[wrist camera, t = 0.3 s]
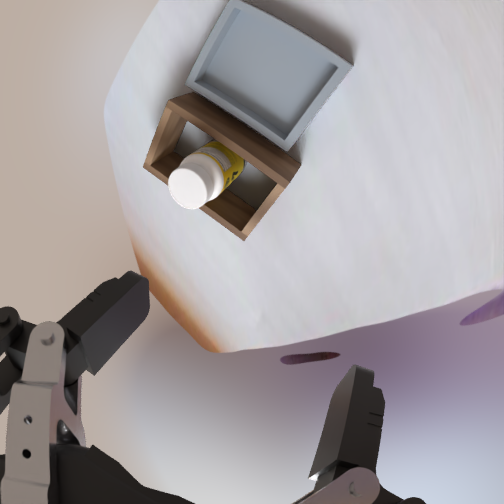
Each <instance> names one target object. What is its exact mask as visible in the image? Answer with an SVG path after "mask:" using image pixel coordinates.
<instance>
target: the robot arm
mask: <svg viewBox="0 0 504 504" xmlns="http://www.w3.org/2000/svg"><path fill="white" fill-rule="evenodd" d="M149 309H150V300H149V281H148V279H147V278H145V277H143V276H141V275H139V274H137V273H135V272H133V271H128V272H127V273H125V274H124V275H123V276H122V277H121V278H119V279H117V278H113V279H111V280H108V281H105V282H103V283H102V284H101V285H99V286H98V287H97V288H96V289H95V290H94V292H92V293H90V294H89V295H88V296H87V297H86V299H85V298H84V299H83V300H82V301H81V302H80V303H79V304H78V305H76V306H75V307H74V308H73V309H72V310H71V311H70V312H68V313H67V314H66V315H65V316H64V317H63V318H62V319H61V320H60V321H58V322H56V323H55V322H50V321H49V322H43V323H40V324H39V325H35V324H32V323H29V322H26V321H23V320H21V319H20V316H19V314H18V312H17V310H16V309H14V308H12V307H3V308H0V356H1V355H2V354H3V353H4V352H5V354H6V356H5V358H4V359H3V360H2V361H1V362H0V414H1V413H2V412H3V410H4V409H5V408H6V406H7V405H8V404H9V403H10V404H9V412H8V423H7V435H6V454H3V455H0V504H195V503H192V502H190V501H188V500H186V499H184V498H182V497H180V496H176V495H173V494H168V493H165V492H161V491H157V490H154V489H150V488H147V487H144V486H143V485H141V484H140V483H139V482H138V481H137V480H136V479H135V478H133V476H132V475H131V474H130V473H129V472H128V471H126V469H124V467H122V465H121V464H120V463H119V462H117V461H116V460H114V459H113V458H111V457H110V456H108V455H107V454H105V453H104V452H102V451H101V450H100V449H98V448H97V447H95V446H94V445H92V446H91V448H87V447H86V441H85V433H84V428H83V425H82V421H81V387H82V376H81V374H82V373H83V372H84V371H85V370H87V371H89V372H90V373H91V374H93V375H95V374H96V373H97V372H98V371H99V370H100V369H101V368H102V367H103V365H104V364H105V363H106V362H107V361H108V360H109V359H110V358H111V356H112V355H113V354H114V353H115V352H116V351H117V350H118V349H119V348H120V346H121V345H122V344H123V343H124V342H125V341H126V340H127V339H128V338H129V337H130V335H131V334H132V333H133V332H134V331H135V330H136V329H137V328H138V327H139V326H140V324H141V323H142V322H143V321H144V320H145V318H146V317H147V315H148V313H149ZM373 382H374V371H373V370H370V369H366V368H364V367H361V366H358V365H353V366H352V367H351V369H350V370H349V371H348V373H347V374H346V375H345V377H344V378H343V379H342V381H341V382H340V383H339V385H338V386H337V387H336V389H335V391H334V393H333V396H332V398H331V401H330V405H329V409H328V413H327V417H326V420H325V424H324V428H323V431H322V435H321V438H320V442H319V445H318V449H317V452H316V455H315V458H314V461H313V465H312V468H311V471H310V474H309V477H308V479H311V480H315V481H316V484H315V488H314V490H312V491H311V492H309V493H308V494H306V495H305V496H303V497H302V498H300V499H298V500H297V501H296V502H294V503H292V504H426V503H425V502H424V501H423V500H422V499H420V498H416V497H412V498H407V499H405V500H403V499H401V498H399V497H398V496H396V495H394V494H392V493H390V492H389V491H387V490H386V489H384V488H383V487H382V486H381V484H380V483H379V480H378V478H377V476H376V464H377V458H378V452H379V446H380V439H381V432H382V429H381V428H382V425H383V416H384V408H385V400H384V397H383V394H382V390H381V389H379V388H376V387H373Z"/></svg>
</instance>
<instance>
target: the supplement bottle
mask: <svg viewBox="0 0 504 504" xmlns="http://www.w3.org/2000/svg"><path fill="white" fill-rule="evenodd" d="M246 162H247V161H246V160H245V159H243V158H242V157H240V156H239V155H238V154H236V153H235V152H233V151H232V150H230V149H229V148H227V147H226V146H225V145H223V144H222V143H220V142H219V141H217V140H216V139H214V140H212V141H211V142H209V143H208V144H206V145H204V146H203V147H201V148H200V149H198V150H197V151H195V152H193V153H192V154H190V155H189V156H187V157H186V158H185V159H184V160H183V161H182V162H181V164H180V166H179V167H178V168H177V169H175V170H174V171H173V172H172V173H171V175H170V177H169V180H168V187H169V191H170V194H171V196H172V197H173V199H174V200H175V201H176V202H177V203H178V204H179V205H181V206H182V207H185V208H188V209H197V208H199V207H201V206H203V205H204V204H205V203H206V202H208V201H210V200H213V199H214V198H216V197H217V196H218V195H220V194H221V193H222V192H223V191H224V189H225V188H226V187H227V186H228V185H230V184H231V183H232V182H233V181H234V180H235V179H236V178H237V177H238V176H239V175H240V174H241V173H242V172H243V170H244V168H245V166H246Z"/></svg>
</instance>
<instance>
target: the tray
mask: <svg viewBox="0 0 504 504" xmlns="http://www.w3.org/2000/svg"><path fill="white" fill-rule="evenodd" d="M352 67H353V65H352V64H351V63H349V62H348V61H347V60H345V59H344V58H342V57H341V56H339V55H338V54H336V53H335V52H333V51H332V50H330V49H329V48H327V47H326V46H324V45H323V44H321V43H320V42H318V41H317V40H315V39H313V38H312V37H310V36H308V35H307V34H305V33H303V32H302V31H300V30H298V29H297V28H295V27H293V26H291V25H290V24H288V23H286V22H284V21H282V20H281V19H279V18H277V17H275V16H273V15H271V14H269V13H267V12H265V11H263V10H261V9H259V8H257V7H255V6H253V5H251V4H249V3H247V2H245V1H242V0H229V2H228V4H227V5H226V7H225V9H224V10H223V12H222V14H221V16H220V17H219V19H218V21H217V23H216V24H215V26H214V28H213V30H212V31H211V33H210V35H209V37H208V39H207V41H206V43H205V44H204V46H203V48H202V50H201V52H200V54H199V56H198V58H197V60H196V62H195V64H194V66H193V68H192V70H191V72H190V74H189V76H188V78H187V81H186V83H185V85H186V86H187V87H189V88H191V89H192V90H194V91H196V92H197V93H199V94H201V95H202V96H204V97H206V98H207V99H209V100H210V101H212V102H214V103H215V104H217V105H218V106H220V107H222V108H223V109H225V110H226V111H228V112H229V113H231V114H232V115H234V116H236V117H237V118H239V119H240V120H242V121H243V122H245V123H246V124H248V125H249V126H250V127H252V128H253V129H255V130H256V131H258V132H259V133H261V134H262V135H264V136H265V137H266V138H268V139H269V140H271V141H272V142H274V143H275V144H276V145H278V146H279V147H280V148H282V149H283V150H285V151H286V152H288V151H289V150H290V148H291V147H292V146H293V145H294V144H295V142H296V141H297V140H298V138H299V137H300V136H301V134H302V133H303V132H304V130H305V129H306V128H307V126H308V125H309V124H310V122H311V121H312V120H313V118H314V117H315V116H316V114H317V113H318V112H319V110H320V109H321V108H322V106H323V105H324V104H325V102H326V101H327V100H328V98H329V97H330V96H331V95H332V93H333V92H334V91H335V89H336V88H337V87H338V85H339V84H340V83H341V82H342V80H343V79H344V78H345V76H346V75H347V74H348V73H349V71H350V70H351V69H352Z"/></svg>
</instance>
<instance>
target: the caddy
mask: <svg viewBox="0 0 504 504" xmlns="http://www.w3.org/2000/svg"><path fill="white" fill-rule="evenodd" d="M187 121H189V122H190V123H192V124H193V125H195V126H196V127H198V128H199V129H201V130H202V131H204V132H205V133H207V134H208V135H210V136H211V137H213V138H214V139H216V140H217V141H219V142H220V143H222V144H223V145H225V146H226V147H227V148H229V149H230V150H232V151H233V152H235V153H236V154H238V155H239V156H240V157H242V158H243V159H245V160H246V161H247V162H249V163H250V164H252V165H253V166H254V167H256V168H257V169H259V170H260V171H261V172H263V173H264V174H266V175H267V176H268V177H270V178H271V179H272V180H274V181H275V182H276V183H277V184H276V186H275V187H274V188H273V190H272V191H271V192H270V194H269V195H268V196H267V198H266V199H265V200H264V202H263V203H262V204H261V206H260V207H259V208H258V210H257V211H256V210H255V209H254V208H252V207H251V206H250V205H248V204H247V203H246V202H244V201H243V200H241V199H240V198H239V197H237V196H236V195H235V194H233V193H232V192H230V191H229V190H228V189H226V188H225V189H224V191H223V192H222V193H221V194H220V195H218V196H217V197H216V198H214V199H213V200H210V201H208V202H206V203H205V204H204V205H203V206H201V207H199V209H201V210H202V211H204V212H205V213H206V214H208V215H209V216H210V217H212V218H213V219H215V220H216V221H217V222H219V223H220V224H221V225H223V226H224V227H225V228H227V229H228V230H230V231H231V232H232V233H234V234H235V235H236V236H238V237H239V238H240V239H242V240H243V241H245V239H246V238H247V237H248V235H249V234H250V233H251V231H252V230H253V229H254V228H255V226H256V225H257V224H258V223H259V221H260V220H261V219H262V217H263V216H264V215H265V214H266V212H267V211H268V210H269V208H270V207H271V206H272V205H273V203H274V202H275V201H276V199H277V198H278V197H279V196H280V194H281V193H282V192H283V191H284V189H285V188H286V187H287V185H288V184H289V183H290V181H291V180H292V178H293V177H294V175H295V174H296V172H297V171H298V169H299V168H300V166H301V164H299V163H298V162H297V161H295V160H294V159H293V158H291V157H290V156H289V155H287V154H286V153H285V152H283V151H282V150H280V149H279V148H278V147H276V146H275V145H273V144H272V143H271V142H269V141H268V140H266V139H265V138H264V137H262V136H261V135H259V134H258V133H256V132H255V131H253V130H252V129H250V128H249V127H248V126H246V125H245V124H243V123H242V122H240V121H239V120H237V119H236V118H234V117H232V116H231V115H229V114H228V113H226V112H225V111H223V110H222V109H220V108H219V107H217V106H215V105H214V104H212V103H211V102H209V101H207V100H206V99H204V98H203V97H201V96H199V95H198V94H196V93H194V92H192V93H188V94H185V95H182V96H179V97H176V98H173V99H170V100H168V102H167V105H166V107H165V110H164V112H163V115H162V117H161V120H160V122H159V125H158V127H157V130H156V132H155V135H154V138H153V140H152V143H151V146H150V148H149V151H148V154H147V157H146V160H145V163H144V165H143V168H145V169H146V170H147V171H149V172H150V173H152V174H153V175H154V176H156V177H157V178H158V179H160V180H161V181H163V182H164V183H165V184H167V185H168V180H169V177H170V175H171V173H172V172H173V171H174V170H175V169H177V168H178V167H179V166H180V164H181V162H182V161H183V160H184V158H182V157H181V156H180V155H178V154H177V153H175V152H174V149H175V147H176V144H177V142H178V140H179V138H180V135H181V133H182V131H183V129H184V127H185V124H186V122H187Z"/></svg>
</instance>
